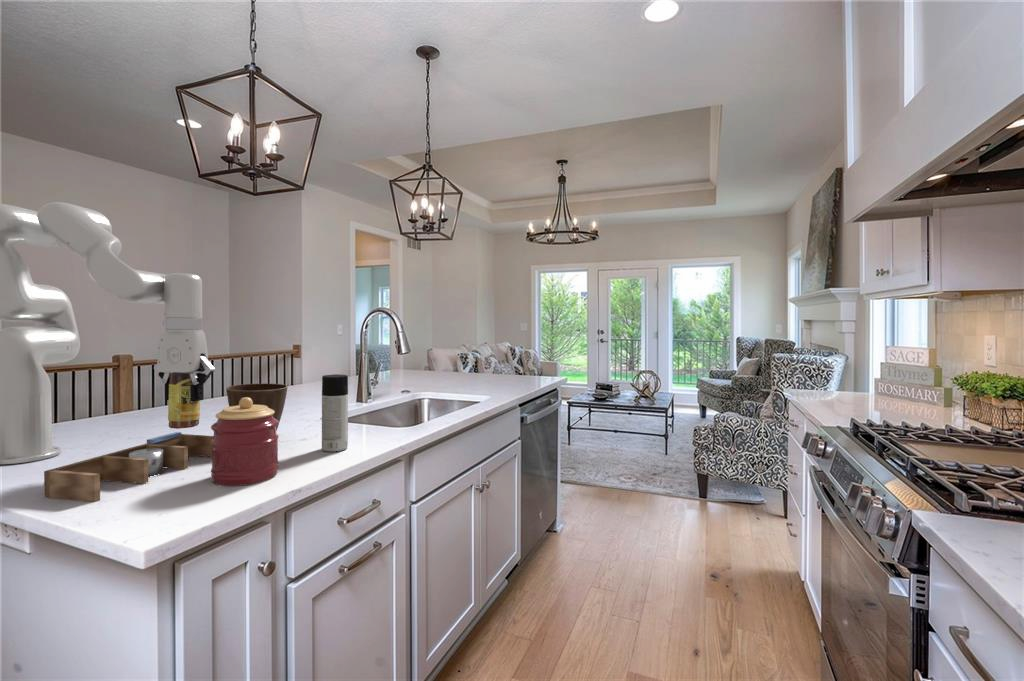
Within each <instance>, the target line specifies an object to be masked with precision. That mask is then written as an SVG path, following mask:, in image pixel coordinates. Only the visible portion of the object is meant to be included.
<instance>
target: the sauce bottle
mask: <svg viewBox="0 0 1024 681" xmlns="http://www.w3.org/2000/svg"><path fill="white" fill-rule="evenodd" d="M197 378H198V374H197ZM169 382H170V383H169V400H168V406H167V407H168V409H167V410H168V411H167V414H168V415H167V420H168V428H170V429H174V430H175V429H176V430H178V429H188V428H194V427H197V426H199V424H200V417H201V416H200V415H201V413H200V412H201V400H200V401H195V402H192V401H191V385H194V384H193V382H192V379H191V377H190V374H189V373H188V374H183V373H174V372H173V373H170V381H169Z"/></svg>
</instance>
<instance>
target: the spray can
mask: <svg viewBox="0 0 1024 681" xmlns="http://www.w3.org/2000/svg"><path fill="white" fill-rule="evenodd" d="M321 379H322V380H321V450H322V451H323V452H327V453H329V452H330V453H335V452H336V451H338V452H342V450H343V451H346V450H347V449H348V446H349V441H348V440H349V375H347V374H325V375H322V377H321ZM346 448H347V449H346ZM336 453H337V452H336Z"/></svg>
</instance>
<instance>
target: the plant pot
mask: <svg viewBox="0 0 1024 681" xmlns="http://www.w3.org/2000/svg"><path fill="white" fill-rule="evenodd" d="M225 390H226V396H227V403H228V407H231V406H238V405H239V401H240V400H241V399H242V398H244V397H248V398H251V400H252V402H253V405H265V406H267V407H268V408H270V409H272V410H274V411H275V413H274V414H273V415H272V416H273V418H275V419H277V420H278V421H279V423H278V425H277V426H276V432H277V431H278V428H279V425H280V421H281V418H282V415H283V411H284V407H285V403H286V398H287V392H288V385H286V384H282V383H266V382H265V383H263V382H262V383H244V384H235V385H231V386H227V387H226V388H225Z"/></svg>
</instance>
